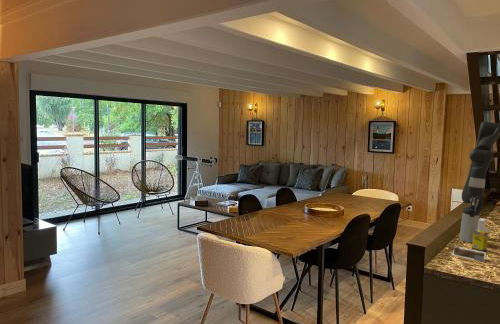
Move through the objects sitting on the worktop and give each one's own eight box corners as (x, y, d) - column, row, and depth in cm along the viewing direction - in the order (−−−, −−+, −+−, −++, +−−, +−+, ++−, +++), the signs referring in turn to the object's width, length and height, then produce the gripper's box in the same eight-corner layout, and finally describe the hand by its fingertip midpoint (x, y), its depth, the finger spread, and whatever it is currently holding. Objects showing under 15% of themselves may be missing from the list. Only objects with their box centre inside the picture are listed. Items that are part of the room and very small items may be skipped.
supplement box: (482, 251, 213) (484, 233, 212) (471, 248, 218) (473, 230, 217) (486, 250, 217) (489, 232, 216) (475, 247, 222) (478, 229, 221)
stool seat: (455, 248, 216) (455, 246, 215) (485, 255, 207) (485, 252, 207) (451, 257, 198) (451, 255, 198) (484, 265, 190) (484, 262, 190)
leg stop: (474, 258, 194) (475, 254, 194) (483, 260, 192) (484, 256, 192) (474, 259, 193) (474, 255, 192) (483, 261, 190) (483, 257, 190)
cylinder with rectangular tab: (473, 234, 253) (475, 217, 252) (488, 237, 248) (491, 219, 247) (470, 236, 246) (473, 219, 245) (486, 240, 241) (489, 221, 240)
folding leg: (453, 254, 200) (454, 247, 199) (453, 252, 202) (454, 246, 202) (483, 260, 193) (484, 253, 193) (483, 258, 195) (484, 252, 195)
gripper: (483, 188, 196) (478, 220, 198) (485, 185, 207) (480, 216, 209) (467, 186, 200) (462, 217, 202) (469, 183, 211) (465, 213, 213)
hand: (471, 216), depth 205 cm, fingers closed
